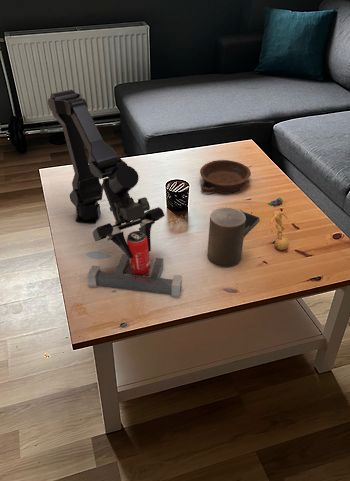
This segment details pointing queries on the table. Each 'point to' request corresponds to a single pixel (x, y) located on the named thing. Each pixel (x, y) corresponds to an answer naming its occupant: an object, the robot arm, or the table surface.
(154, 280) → the rail dock
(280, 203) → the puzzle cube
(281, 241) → the figurine
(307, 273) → the table surface
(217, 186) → the dish
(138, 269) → the beverage can
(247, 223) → the phone
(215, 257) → the pillar candle
